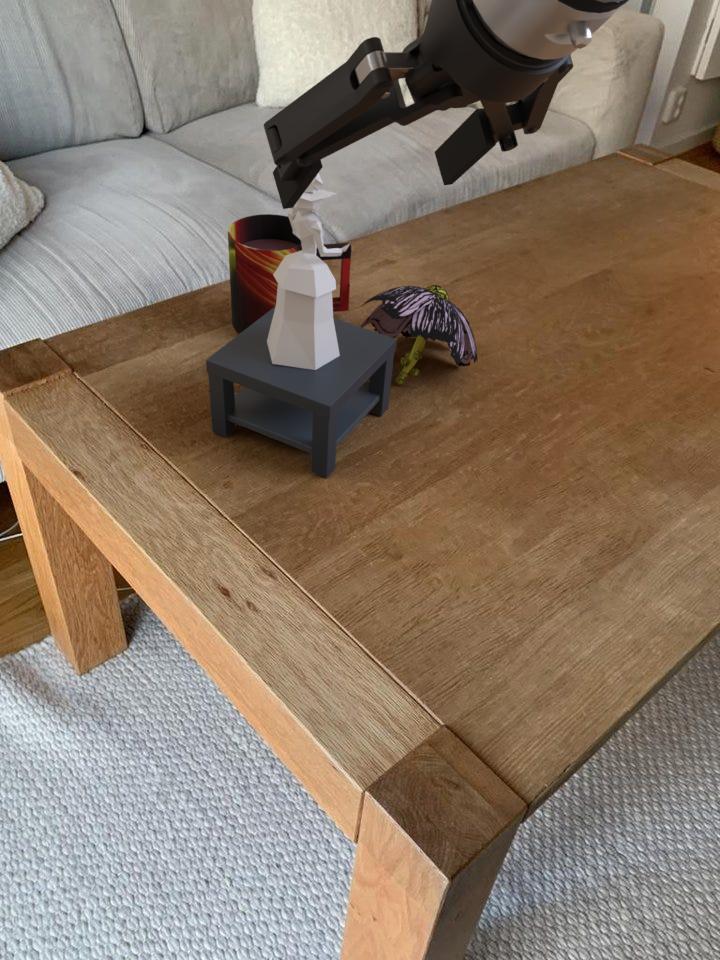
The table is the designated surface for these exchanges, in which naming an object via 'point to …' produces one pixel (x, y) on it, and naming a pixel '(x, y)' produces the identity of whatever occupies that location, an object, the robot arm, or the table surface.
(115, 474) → the table surface
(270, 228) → the mug
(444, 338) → the decorative flower
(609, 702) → the table surface
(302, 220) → the figurine
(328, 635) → the table surface
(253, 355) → the stand
